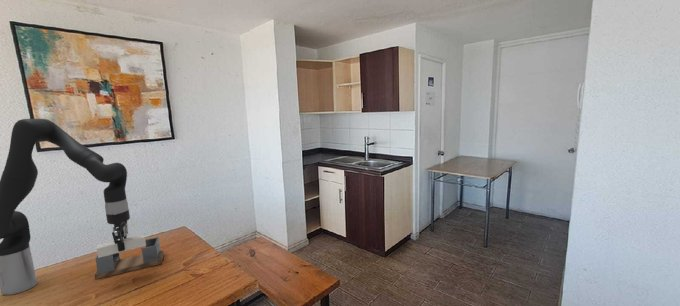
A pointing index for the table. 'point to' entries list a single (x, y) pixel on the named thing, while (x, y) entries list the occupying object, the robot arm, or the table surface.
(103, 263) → the grey boxes
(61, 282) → the table surface
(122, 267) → the plank
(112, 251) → the block
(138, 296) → the table surface
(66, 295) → the table surface
